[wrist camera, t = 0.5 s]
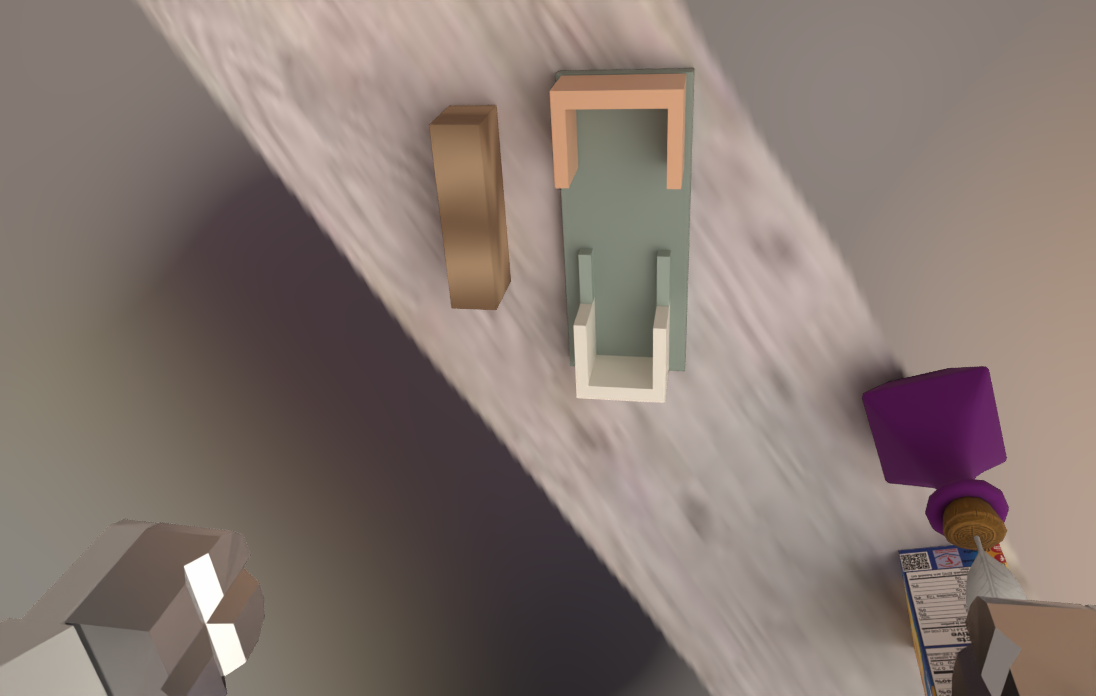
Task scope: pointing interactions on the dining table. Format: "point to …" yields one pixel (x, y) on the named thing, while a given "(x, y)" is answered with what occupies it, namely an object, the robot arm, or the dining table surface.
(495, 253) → the brown rectangular block
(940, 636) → the beverage box
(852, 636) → the dining table surface
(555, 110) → the cap
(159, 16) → the dining table surface
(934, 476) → the perfume bottle
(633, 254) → the grey slotted holder
